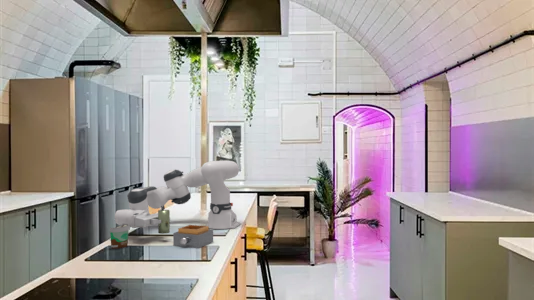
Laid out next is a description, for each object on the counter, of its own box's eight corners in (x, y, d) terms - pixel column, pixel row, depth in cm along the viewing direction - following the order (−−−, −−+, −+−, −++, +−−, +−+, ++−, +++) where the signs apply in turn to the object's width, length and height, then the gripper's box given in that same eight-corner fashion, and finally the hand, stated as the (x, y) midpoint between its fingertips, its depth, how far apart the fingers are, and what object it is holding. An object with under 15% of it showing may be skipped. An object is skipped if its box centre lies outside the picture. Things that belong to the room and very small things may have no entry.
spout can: (162, 231, 229) (162, 204, 229) (171, 231, 227) (171, 205, 227) (155, 233, 224) (155, 206, 224) (165, 233, 222) (165, 206, 222)
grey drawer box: (188, 239, 229) (188, 224, 229) (213, 241, 224) (213, 225, 224) (169, 246, 213) (169, 229, 213) (195, 249, 208) (195, 232, 208)
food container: (121, 250, 207) (121, 228, 206) (109, 249, 208) (109, 227, 208) (134, 244, 219) (134, 223, 218) (123, 243, 220) (123, 223, 220)
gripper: (154, 221, 240) (176, 223, 235) (129, 228, 221) (153, 230, 216) (154, 209, 240) (176, 211, 235) (129, 215, 221) (153, 217, 216)
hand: (165, 220), depth 225 cm, fingers closed on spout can, 6 cm apart
